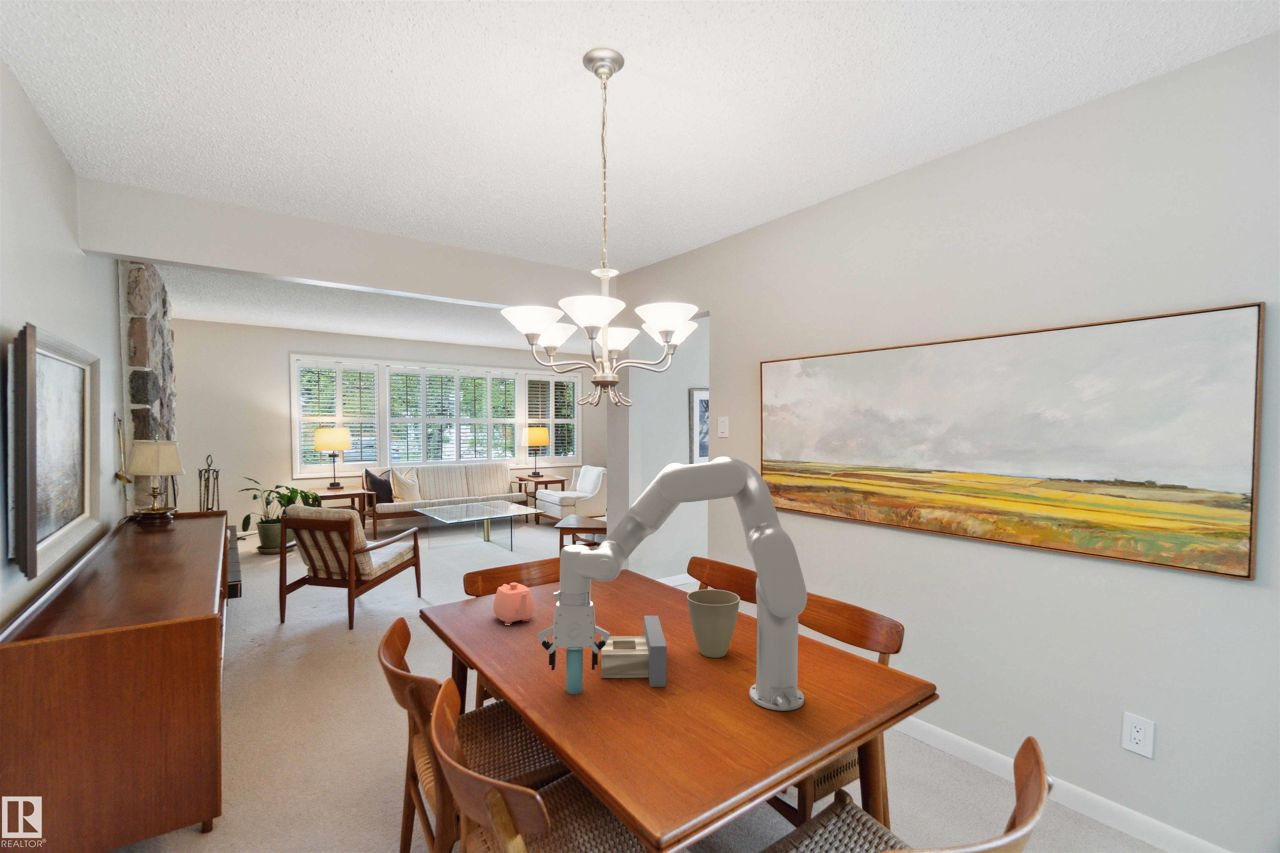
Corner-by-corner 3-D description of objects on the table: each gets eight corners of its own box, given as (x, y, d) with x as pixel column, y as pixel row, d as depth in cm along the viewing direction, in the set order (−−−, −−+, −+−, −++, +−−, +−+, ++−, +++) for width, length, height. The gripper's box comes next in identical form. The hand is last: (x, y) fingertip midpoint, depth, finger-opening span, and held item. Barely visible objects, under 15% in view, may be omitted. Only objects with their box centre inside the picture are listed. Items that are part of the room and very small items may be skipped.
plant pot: (724, 639, 169) (724, 587, 169) (748, 659, 155) (749, 602, 154) (678, 645, 164) (678, 591, 164) (699, 666, 150) (700, 607, 150)
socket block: (648, 677, 143) (648, 653, 143) (601, 678, 142) (601, 654, 142) (644, 657, 155) (645, 636, 155) (601, 658, 154) (601, 636, 154)
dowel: (582, 694, 134) (582, 652, 134) (565, 694, 134) (565, 652, 134) (582, 686, 138) (583, 645, 138) (566, 686, 138) (566, 645, 138)
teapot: (485, 615, 188) (486, 579, 188) (519, 608, 195) (519, 574, 195) (508, 633, 172) (509, 594, 172) (544, 626, 178) (544, 588, 178)
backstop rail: (666, 686, 138) (666, 646, 138) (650, 686, 138) (650, 646, 138) (657, 650, 160) (657, 615, 160) (643, 650, 160) (643, 615, 160)
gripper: (537, 602, 131) (535, 675, 131) (611, 602, 133) (609, 674, 133) (540, 592, 139) (539, 661, 139) (610, 592, 140) (608, 661, 140)
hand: (573, 667), depth 136 cm, fingers open, 9 cm apart
